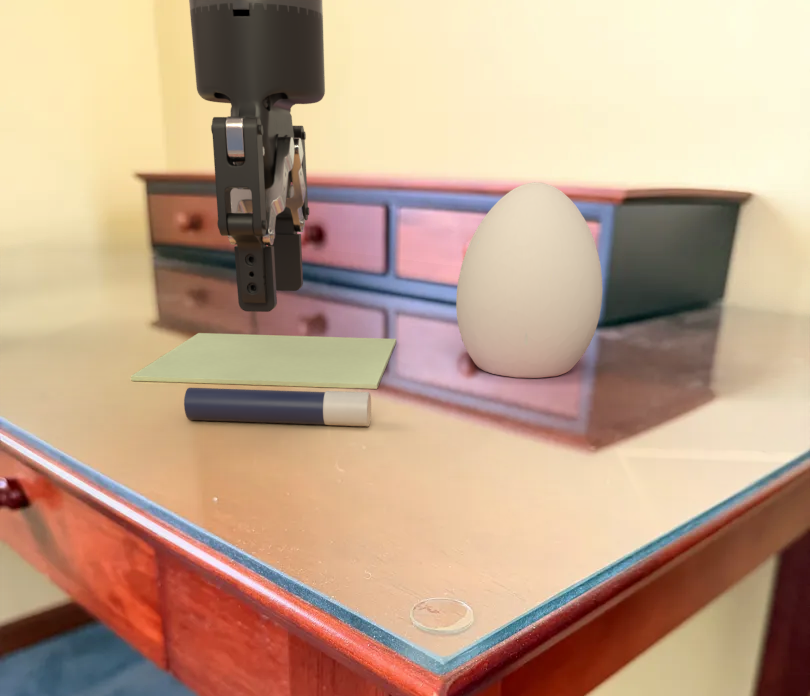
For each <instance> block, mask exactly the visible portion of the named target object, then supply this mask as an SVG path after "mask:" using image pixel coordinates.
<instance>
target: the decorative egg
mask: <svg viewBox="0 0 810 696" xmlns="http://www.w3.org/2000/svg"><path fill="white" fill-rule="evenodd" d="M592 233H593V232H592V230H591V228H590V227H589V225H588V222H587V221H586V219H585V217H584V216H583V214H582V212H581V211H580V210H579V208H578V207H577V205H576V204H575V203H574V202H573V201H572V199H571V198H570V197H569V196H567V194H566V193H564V192H563V191H561V190H560V189H559V188H557V187H556V186H554V185H552V184H548V183H544V182H528V183H525V184H521V185H518V186H517V187H514V189H512V190H510V191H508V192H507V193H505V194H504V195H503V196H502V197H501V198H500V199H499V200H498V201H496V203H495V204H493V206H492V207H491V208H490V210H489V211H488V212H487V214H486V215H485V216H484V218H483V219H482V220H481V222H480V223H479V224H478V226H477V228H476V230H475V231H474V234H473V236H472V237H471V238H470V241H469V244H468V246H467V248H466V251H465V254H464V256H463V260H462V261H461V262H462V263H461V266H460V270H459V276H458V279H457V286H456V287H457V288H456V299H455V300H456V301H455V303H456V304H455V308H456V309H455V311H456V318H457V320H456V321H457V326H458V331H459V334H460V338H461V341H462V343H463V345H464V346H463V347H465V350H466V351H467V354H468V356H469V357H470V358H471V360H472V362H473V363H474V365H476V367H477V368H478V369H480V370H482V371H484V372H486V373H490V374H493V375H495V376H496V375H497V376H503V377H509V378H521V379H522V378H523V379H527V378H528V379H541V378H551V377H558V376H561V375H564V374H566V373H568V372H570V371H571V370H572V369H573V368H574V367H575V366H576V365H577V363H578V362H579V361H580V360H581V359H582V357H583V356H584V354H585V353H586V352H587V350H588V348H589V346H590V344H591V342H592V340H593V338H594V336H595V333H596V330H597V328H598V324H599V321H600V316H601V309H602V302H603V275H602V267H601V260H600V255H599V252H598V248H597V245H596V241H595V239H594V236H593V234H592Z"/></svg>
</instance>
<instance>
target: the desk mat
mask: <svg viewBox="0 0 810 696" xmlns="http://www.w3.org/2000/svg"><path fill="white" fill-rule="evenodd" d="M396 345H397V338H382V337H381V338H379V337H346V336H345V337H344V336H316V335H315V336H313V335H312V336H311V335H310V336H309V335H277V334H275V335H273V334H247V333H246V334H245V333H244V334H242V333H212V332H198V333H196V334H195V335H193V336H191V337H190V338H188V339H187V340H185V341H183V342H182V343H180V344H179V345H177V346H175V347H174V348H173V349H171V350H169V351H168V352H166V353H165V354H163V355H162V356H160V357H158V358H157V359H155V360H154V361H152V362H150V363H149V364H148V365H146V366H145V367H143V368H141V369H139V370H138V371H136V372H135V373H133V374H132V375H130V380H131V381H132V382H154V383H155V382H158V383H184V384H185V383H186V384H187V383H188V384H219V385H243V386H244V385H249V386H253V385H254V386H275V387H276V386H277V387H307V388H337V389H362V390H363V389H367V390H377V389H378V388H379V386H380V383H381V380H382V378H383V376H384V373H385V371H386V368H387V366H388V364H389V361H390V359H391V357H392V355H393V352H394V349H395V347H396Z"/></svg>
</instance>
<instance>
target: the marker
mask: <svg viewBox="0 0 810 696" xmlns="http://www.w3.org/2000/svg"><path fill="white" fill-rule="evenodd" d="M183 408H184V414H185V417H186V419H188V420H189V421H211V422H212V421H213V422H235V423H236V422H240V423H267V424H268V423H269V424H296V425H298V424H299V425H320V426H321V425H322V426H323V425H324V426H343V427H344V426H345V427H370V425H371V420H372V419H371V417H372V397H371V393H370V392H369V391H347V390H346V391H345V390H343V391H342V390H326V391H311V390H310V391H309V390H308V391H305V390H279V389H277V390H274V389H249V388H248V389H246V388H244V389H243V388H215V387H214V388H213V387H188V388H187V389H186V390H185V394H184V399H183Z"/></svg>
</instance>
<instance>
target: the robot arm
mask: <svg viewBox="0 0 810 696" xmlns="http://www.w3.org/2000/svg"><path fill="white" fill-rule="evenodd" d="M188 2H189V3H188V4H189V15H190V26H191V38H192V49H193V51H192V52H193V60H194V62H193V63H194V74H195V83H196V86H195V87H196V91H197V94H198V95H199V96H200V97H201V99H203V100H204V101H208V102H212V103H219V104H221V103H222V104H230V116H214V117H212V121H211V124H210V131H211V135H212V149H213V163H214V165H213V166H214V176H215V177H214V180H215V193H216V195H215V197H216V209H217V211H216V212H217V229H218V231H219V234H220V236H221V237H227V238H228V242H229V244H230V245H235V246H233V248H234V261H235V275H236V276H235V277H236V288H237V303H238V306H239V308H240V309H241V310H242V311H243V312H255V313H259V312H260V313H269V312H271V311H273V310H274V309H275V308H276V307H277V305H278V297H277V291H278V292H279V291H281V292H296V291H299V290H300V289H301V288H303V286H304V273H303V272H304V271H303V269H304V268H303V248H302V233H304V231H305V227H306V221H308V219H309V216H310V207H309V199H308V179H307V159H306V139H307V134H306V131H305V128H304V126H303V125H293V117H292V114H291V112H292V107H293V106H295V105H311V104H316V103H319V102H320V101H322V100H323V98H324V97H325V94H326V81H325V79H326V77H325V49H324V48H325V47H324V14H323V13H324V11H323V10H324V8H323V0H188ZM291 184H292V185H291Z"/></svg>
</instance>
